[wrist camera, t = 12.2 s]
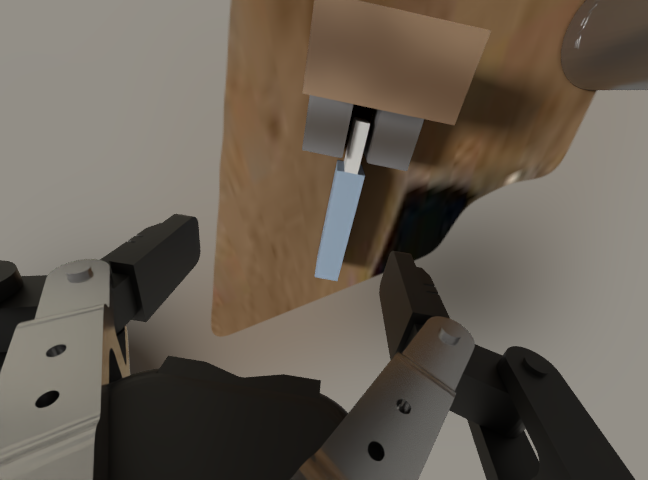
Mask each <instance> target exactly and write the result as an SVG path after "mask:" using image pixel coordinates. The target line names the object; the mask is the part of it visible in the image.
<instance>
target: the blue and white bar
mask: <svg viewBox="0 0 648 480" xmlns="http://www.w3.org/2000/svg"><path fill="white" fill-rule="evenodd" d="M369 126H370V123H369V122H368V121H367V120H366V119H361V118H357V117H354V118H353V122H352V127H351V132H350V136H349V141H348V145H347V150H346V154H345V159H344V161H339V160H337V165H336V170H335V174H334V179H333V184H332V189H331V194H330V199H329V203H328V208H327V213H326V218H325V223H324V227H323V232H322V237H321V242H320V247H319V252H318V256H317V263H316V270H315V277H318V278H323V279H329V280H334V281H338V277H339V273H340V269H341V265H342V261H343V258H344V254H345V250H346V246H347V242H348V239H349V235H350V231H351V227H352V223H353V220H354V216H355V212H356V208H357V204H358V201H359V197H360V193H361V189H362V185H363V182H364V178H365V174H364V171H363V168H362V165H360V163H361V159H362V155H363V151H364V147H365V143H366V139H367V134H368V130H369Z"/></svg>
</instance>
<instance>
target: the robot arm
mask: <svg viewBox="0 0 648 480" xmlns="http://www.w3.org/2000/svg"><path fill="white" fill-rule="evenodd" d="M561 63H562V68H563V71H564V73H565V75H566V77H567V79H568V80H569V81H570V82H571V83H572V84H573V85H575V86H577V87H579V88H581V89H586V90H648V0H586V1H585V2H584V3H583V5H582V6H581V7H580V8H579V10H578V11H577V12H576V14H575V16H574V17H573V19H572V21H571V23H570V24H569V27H568V29H567V31H566V34H565V36H564V40H563V45H562V49H561ZM199 257H200V240H199V227H198V221H197V219H196V217H192V216H186V215H179V214H174V215H173V216H171V217H170V218H168V219H167V220H165V221H164V222H163V223H159V224H157V225H154V226H151V227H148V228H146V229H144V230H143V231H142V232H140V233H139V234H137V236H134V237H133V238H131V239H130V240H129V241H128V242H125V243H124V244H122V245H121V246H120V247H118V248H117V249H115V250H114V251H112V252H111V253H109V254H108V255H106V256H105V257H103V258H102V259H100V260H97V259H84V260H78V261H73V262H70V263H66V264H64V265H61V266H60V267H58V268H56V269H54V270H53V271H51V272H50V273H49V274H48V275H47V276H46V275H45V276H21V275H20V273H19V271H18V269H17V267H16V265H15V264H13V263H12V262H9V261H1V260H0V480H418V479H419V476H420V474H421V472H422V469H423V467H424V465H425V463H426V461H427V459H428V456H429V454H430V452H431V450H432V447H433V445H434V443H435V441H436V438H437V436H438V434H439V432H440V429H441V427H442V425H443V423H444V420H445V418H446V416H447V414H448V412H449V410H450V411H452V412H454V413H456V414H458V415H460V416H462V417H464V418H466V419H467V420H468V423H469V426H470V429H471V432H472V436H473V439H474V442H475V445H476V448H477V451H478V454H479V457H480V461H481V464H482V467H483V470H484V473H485V476H486V479H487V480H635V479H634V477H633V476H632V474H631V473H630V471H629V470H628V469H627V467H626V466H625V464H624V463H623V462H622V460H621V459H620V457H619V456H618V455H617V453H616V452H615V450H614V449H613V447H612V446H611V445H610V443H609V442H608V441H607V439H606V438H605V436H604V435H603V434H602V432H601V431H600V429H599V428H598V427H597V425H596V424H595V422H594V421H593V419H592V418H591V417H590V415H589V414H588V412H587V411H586V410H585V408H584V407H583V405H582V404H581V402H580V401H579V400H578V398H577V397H576V395H575V394H574V393H573V391H572V390H571V388H570V387H569V386H568V384H567V383H566V381H565V380H564V378H563V377H562V376H561V374H560V373H559V372H558V370H557V369H556V368H555V367H554V366H553V365H552V364H551V363H550V362H549V361H547V360H546V359H545V358H543V357H542V356H540V355H539V354H537V353H535V352H533V351H531V350H529V349H526V348H523V347H517V346H513V347H510V348H508V349H507V350H506V352H505V353H504V355H503V356H502V355H500V354H497V353H495V352H492V351H490V350H488V349H485V348H482V347H480V346H478V345H476V344H475V342H474V339H473V337H472V335H471V334H470V333H469V331H468V330H467V329H466V328H465V327H463V326H462V325H461V324H459V323H457V322H456V321H454V320H452V319H450V318H449V315H448V313H447V311H446V309H445V307H444V305H443V303H442V300H441V298H440V296H439V295H438V292H437V290H436V288H435V287H434V283H433V281H432V279H431V277H430V276H429V275H428V274H427V273H426V272H425V271H424V270H423V269H422V268H419V267H416V265H415V263H414V260H413V258H412V255H411V254H408V253H402V252H396V251H392V252H391V253H390V255H389V258H388V261H387V264H386V267H385V270H384V273H383V277H382V280H381V284H380V292H379V293H380V301H381V307H382V313H383V319H384V324H385V330H386V336H387V342H388V348H389V353H390V359H391V361H390V362H389V363H388V364H387V366H386V367H385V368H384V369H383V371H382V372H381V373H380V374H379V376H378V377H377V378H376V379H375V381H374V382H373V383H372V384H371V386H370V387H369V388H368V389H367V391H366V392H365V393H364V394H363V396H362V397H361V398H360V399H359V401H358V402H357V403H356V404H355V406H354V407H353V408H352V409H351V411H350V412H349V413H347V412H346V411H345V410H344V409H343V408H342V407H341V406H340V405H339V404H337V403H336V402H335V401H333V400H332V399H330V398H328V397H327V396H325V395H323V394H321V393H320V383H321V381H320V380H314V379H308V378H302V377H296V376H290V375H284V374H283V375H271V376H259V377H246V378H243V377H238V376H236V375H234V374H231V373H229V372H227V371H225V370H223V369H220V368H218V367H216V366H214V365H211V364H209V363H207V362H203V361H196V360H191V359H185V358H178V357H172V356H168V357H167V358H166V360H165V361H164V363H163V364H162V366H161V367H160V368H159V369H152V370H146V371H142V372H139V373H136V374H132V375H130V365H129V351H128V332H127V328H126V324H127V323H128V322H129V321H130V320H137V321H143V322H147V321H148V320H149V318H150V317H151V316H152V315H153V314H154V312H155V311H156V310H157V309H158V308H159V307H160V305H162V303H163V302H164V301H165V300H166V299H167V298H168V296H169V295H170V294H171V293H172V292H173V291H174V290H175V288H176V287H177V286H178V285H179V284H180V283H181V281H182V280H183V279H184V278H185V277H186V276H187V275H188V273H189V272H190V271H191V270H192V269H193V268H194V266H195V265H196V264H197V262H198V260H199ZM525 429H526V430H527V432H528V434H529V436H530V438H531V440H532V442H533V444H534V446H535V448H536V450H537V453H538V456H539V461H538V459H537V457H536V455H535V453H534V450H533V448H532V446H531V444H530V442H529V440H528V438H527V436H526V434H525V432H524V430H525Z"/></svg>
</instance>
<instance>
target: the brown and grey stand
mask: <svg viewBox="0 0 648 480" xmlns="http://www.w3.org/2000/svg"><path fill="white" fill-rule="evenodd" d="M490 33H491V30H487V29H482V28H478V27H473V26H469V25H465V24H460V23H456V22H451V21H447V20H443V19H438V18H434V17H429V16H425V15H420V14H416V13H412V12H407V11H403V10H398V9H394V8H390V7H385V6H381V5H376V4H372V3H368V2H363V1H359V0H314V7H313V15H312V23H311V31H310V38H309V46H308V54H307V62H306V69H305V77H304V85H303V94H308V95H310V97H309V105H308V112H307V119H306V126H305V133H304V140H303V147H302V150H305V151H309V152H314V153H319V154H324V155H329V156H334V157H339V158H342V156H343V151H344V147H345V142H346V137H347V133H348V128H349V123H350V118H351V114H352V109H353V104H355V105H360V106H365V107H369V108H374V110H373V115H372V119H371V123H370V127H369V131H368V135H367V139H366V143H365V147H364V151H363V152H364V155H365V158H366V160H367V163H369V164H374V165H379V166H384V167H389V168H394V169H399V170H404V171H407V170H408V167H409V164H410V161H411V158H412V155H413V152H414V149H415V146H416V143H417V140H418V137H419V134H420V131H421V128H422V125H423V122H424V119H426V120H431V121H436V122H441V123H445V124H450V125H455V123H456V120H457V118H458V115H459V113H460V110H461V107H462V105H463V102H464V100H465V97H466V94H467V92H468V89H469V87H470V84H471V82H472V79H473V76H474V74H475V71H476V69H477V66H478V63H479V61H480V58H481V56H482V53H483V51H484V48H485V45H486V43H487V40H488V38H489V35H490Z"/></svg>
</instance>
